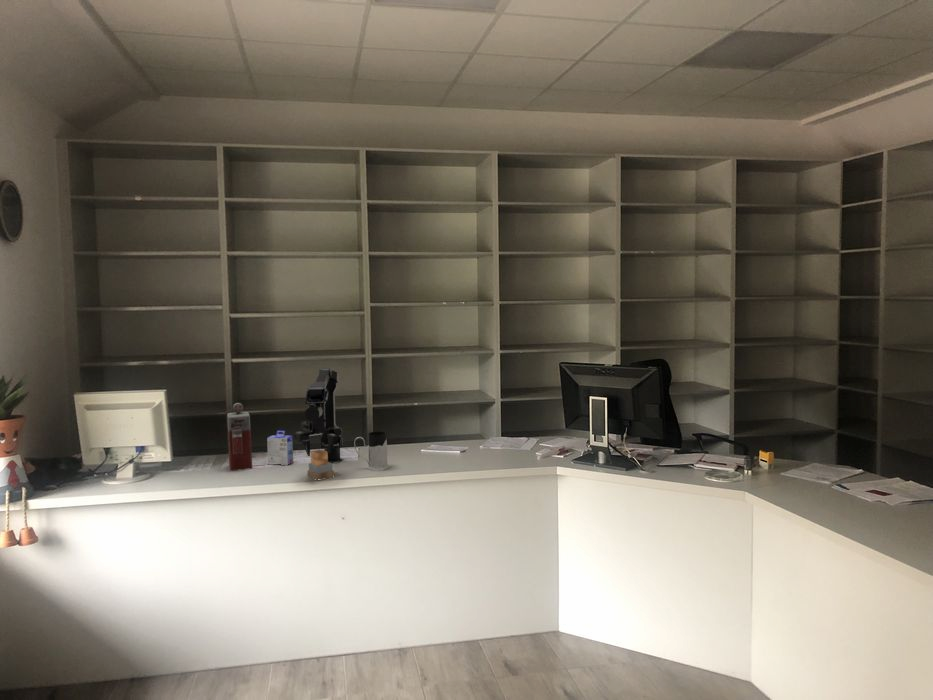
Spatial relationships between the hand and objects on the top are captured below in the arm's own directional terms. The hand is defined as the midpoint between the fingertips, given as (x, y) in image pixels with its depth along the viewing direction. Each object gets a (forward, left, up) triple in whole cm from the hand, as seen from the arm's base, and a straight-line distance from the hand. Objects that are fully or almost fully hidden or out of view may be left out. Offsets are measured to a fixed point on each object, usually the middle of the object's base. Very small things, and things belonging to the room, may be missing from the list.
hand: (319, 454), depth 273 cm
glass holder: (-23, +2, -10) cm, 25 cm away
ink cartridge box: (+4, -31, -10) cm, 33 cm away
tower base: (-1, 0, -10) cm, 10 cm away
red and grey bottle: (+20, -36, -10) cm, 42 cm away
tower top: (-1, 0, -7) cm, 7 cm away
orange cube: (0, 0, -4) cm, 4 cm away
